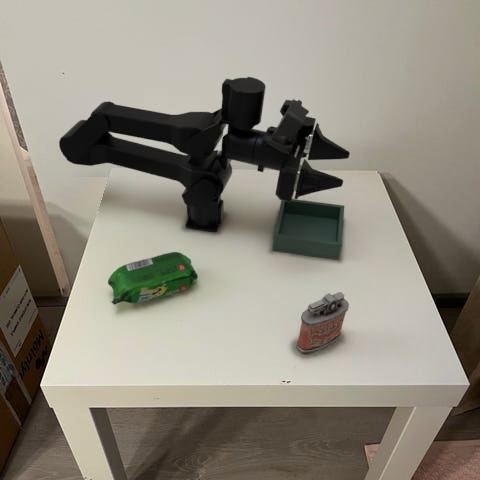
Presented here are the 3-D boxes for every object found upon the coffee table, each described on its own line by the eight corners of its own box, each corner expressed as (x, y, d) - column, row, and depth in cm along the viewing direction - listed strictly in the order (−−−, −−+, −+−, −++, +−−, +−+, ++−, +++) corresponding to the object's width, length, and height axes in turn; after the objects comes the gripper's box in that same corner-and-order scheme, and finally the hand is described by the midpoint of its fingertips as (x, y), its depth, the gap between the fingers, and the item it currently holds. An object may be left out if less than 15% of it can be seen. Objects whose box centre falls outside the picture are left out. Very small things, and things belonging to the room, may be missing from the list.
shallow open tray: (272, 250, 93) (273, 235, 90) (280, 212, 101) (281, 197, 98) (338, 260, 91) (341, 245, 89) (341, 220, 100) (344, 205, 97)
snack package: (105, 289, 85) (99, 267, 81) (189, 264, 89) (187, 242, 85) (116, 317, 80) (111, 295, 76) (203, 289, 85) (203, 267, 81)
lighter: (331, 325, 80) (343, 281, 73) (344, 339, 78) (357, 296, 71) (291, 343, 77) (298, 300, 70) (303, 358, 76) (312, 315, 68)
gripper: (249, 128, 71) (353, 152, 70) (275, 78, 83) (365, 98, 82) (241, 192, 80) (334, 215, 78) (266, 138, 92) (347, 157, 90)
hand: (346, 168), depth 82 cm, fingers open, 9 cm apart
